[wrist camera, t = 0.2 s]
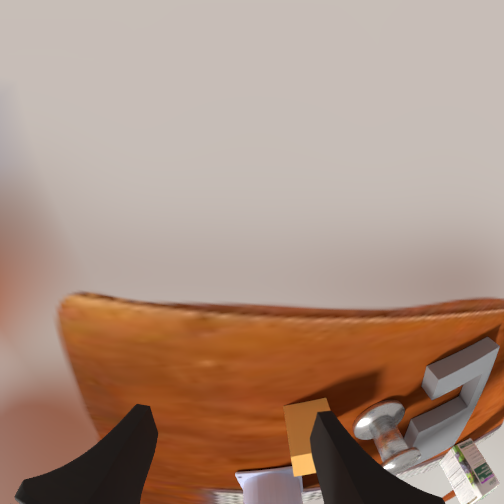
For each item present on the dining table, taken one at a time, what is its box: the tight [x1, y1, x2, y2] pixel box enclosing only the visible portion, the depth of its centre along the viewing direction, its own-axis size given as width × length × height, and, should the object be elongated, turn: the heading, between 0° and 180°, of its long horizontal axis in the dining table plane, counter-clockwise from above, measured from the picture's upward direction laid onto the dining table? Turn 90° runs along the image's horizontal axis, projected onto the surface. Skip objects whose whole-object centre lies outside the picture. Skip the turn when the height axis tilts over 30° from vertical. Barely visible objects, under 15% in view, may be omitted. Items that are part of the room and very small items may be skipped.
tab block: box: [283, 398, 330, 477], centre depth 19 cm, size 4×4×6 cm
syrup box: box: [439, 438, 499, 504], centre depth 22 cm, size 6×6×14 cm
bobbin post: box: [353, 399, 421, 475], centre depth 20 cm, size 6×6×7 cm
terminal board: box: [404, 337, 500, 467], centre depth 23 cm, size 20×10×2 cm, turn 9°
